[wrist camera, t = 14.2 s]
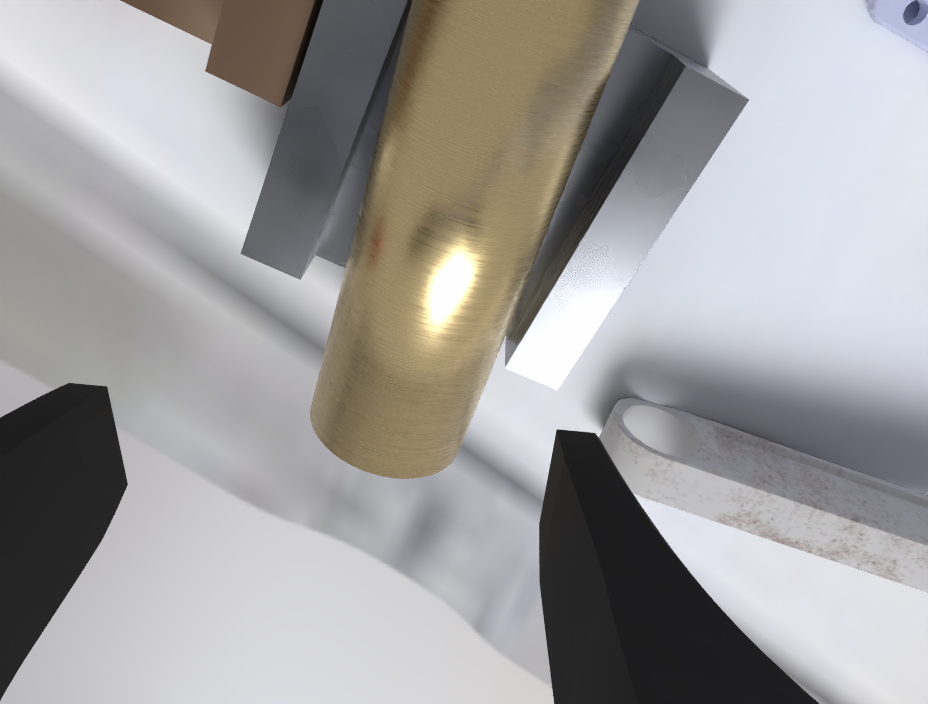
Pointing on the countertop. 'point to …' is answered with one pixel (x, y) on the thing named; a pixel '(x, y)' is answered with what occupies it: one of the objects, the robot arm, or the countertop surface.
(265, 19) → the brown wooden cradle
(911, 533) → the wrench
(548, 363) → the v block
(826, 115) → the countertop surface
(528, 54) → the brass axle
